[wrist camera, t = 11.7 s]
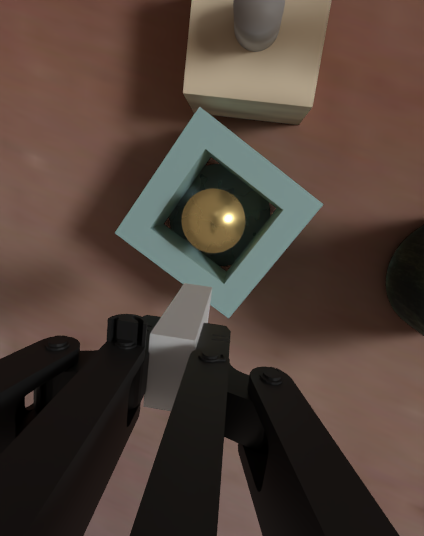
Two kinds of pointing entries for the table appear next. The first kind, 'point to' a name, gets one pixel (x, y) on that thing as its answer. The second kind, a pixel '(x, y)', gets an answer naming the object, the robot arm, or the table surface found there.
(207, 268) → the teal square ring
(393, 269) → the mug
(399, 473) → the table surface
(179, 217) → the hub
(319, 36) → the stand
